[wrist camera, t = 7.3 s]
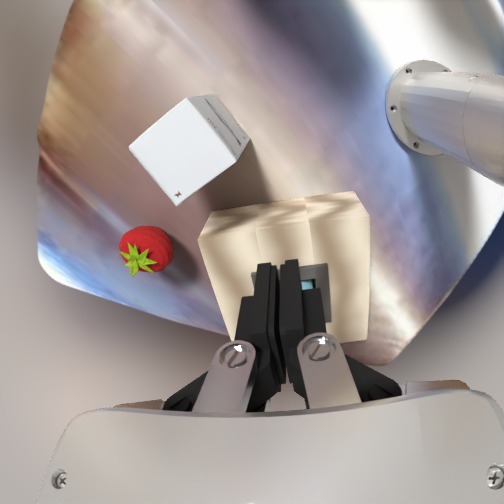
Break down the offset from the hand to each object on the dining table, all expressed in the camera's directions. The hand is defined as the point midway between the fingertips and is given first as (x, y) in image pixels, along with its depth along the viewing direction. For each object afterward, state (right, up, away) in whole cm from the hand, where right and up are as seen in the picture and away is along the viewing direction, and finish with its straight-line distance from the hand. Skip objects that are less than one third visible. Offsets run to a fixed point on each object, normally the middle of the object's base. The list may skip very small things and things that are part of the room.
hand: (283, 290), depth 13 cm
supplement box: (-6, +16, +23) cm, 29 cm away
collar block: (+4, 0, +31) cm, 31 cm away
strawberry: (-15, +5, +31) cm, 34 cm away
